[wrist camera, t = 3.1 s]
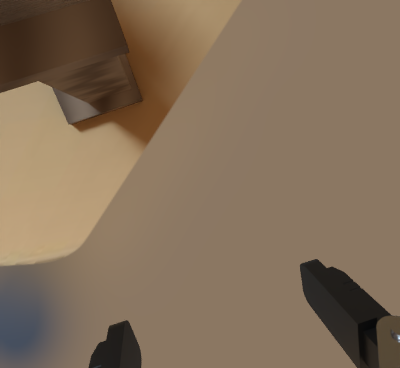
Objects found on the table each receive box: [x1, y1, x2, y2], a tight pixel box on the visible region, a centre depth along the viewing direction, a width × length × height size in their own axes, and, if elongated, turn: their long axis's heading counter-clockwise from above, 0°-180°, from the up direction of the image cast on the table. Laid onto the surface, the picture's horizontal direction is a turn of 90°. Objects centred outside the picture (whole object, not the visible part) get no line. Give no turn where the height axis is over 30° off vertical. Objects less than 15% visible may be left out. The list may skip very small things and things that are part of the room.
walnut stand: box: [0, 0, 143, 124], centre depth 29 cm, size 12×9×30 cm
